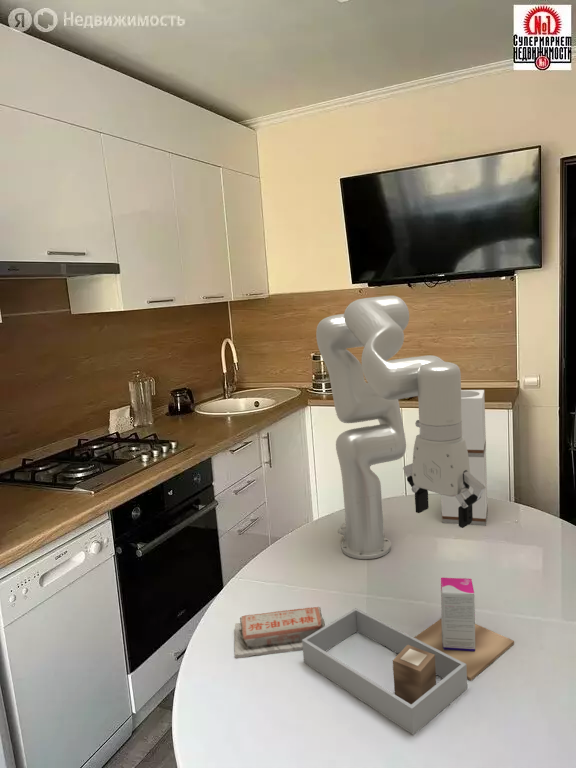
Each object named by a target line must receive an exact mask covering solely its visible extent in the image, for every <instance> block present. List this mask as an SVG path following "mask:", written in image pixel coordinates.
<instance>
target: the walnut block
mask: <svg viewBox="0 0 576 768" xmlns="http://www.w3.org/2000/svg"><path fill="white" fill-rule="evenodd" d="M392 670H393V671H392V673H393V674H392V675H393V686H394V694H395V695H396V696H398V697H400V698H401V699H403V700H405V701H406V702H408V703H409V704H413V703H414V702H415V701H416V700H418V699H419V698H420V697H421V696H423V695H424V694H425V693H426V692H427V691H429V690H430V689H431V688H432V687H434V686H435V685H436V684H437V674H436V668H435V655H434V654H432V653H429V652H426V651H424V650H421V649H418V648H415V647H413V646H410V645H407V646H406V647H405V648H404V649H403V650H402V651H401V652H400V653H399V654H398V653H397V654H396V656H395V658H394V659H392Z"/></svg>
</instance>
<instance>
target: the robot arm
mask: <svg viewBox="0 0 576 768" xmlns="http://www.w3.org/2000/svg"><path fill="white" fill-rule="evenodd" d="M409 322H410V311H409V307H408V305H407V304H406V301H404V300H403V299H402V298H401V297H399V296H396V295H382V296H374V297H373V296H372V297H364V298H358V299H356V300H354V301H352V302H350V303H349V304H348V306H347V307H346V308H345V310H344V313H341V314H340V313H338V314H334V315H333V314H332V315H330V316H327V317H324V318H323V319H322V320H320V321H319V323H318V324H317V326H316V330H315V332H316V333H315V335H316V337H315V338H316V344H317V348H318V350H319V353H320V355H321V358H322V359H323V362H324V364H325V367H326V369H327V372H328V375H329V381H330V388H331V394H332V398H333V399H332V400H333V404H334V410H335V413H336V417H337V419H338V420H339V421H340V422H341V423H344V424H356V423H363V422H368V421H376V420H377V421H378V422H379V424H376V425H370V426H369V425H367V426H362V427H357V428H351V429H347V430H344V431H343V432H342V433H340V434H339V435H338V436H337V438H336V440H335V450H336V455H337V459H338V463H339V467H340V472H341V473H340V474H341V482H342V493H343V503H344V504H343V505H344V506H343V507H344V517H345V519H344V520H345V522H343V523H342V524H341V525H340V528H338V530H337V533H338V534H339V535H341V536H342V535H343V538H344V539H343V541H342V542H341V545H340V546H341V551H342V553H343V554H345V555H346V556H348V557H350V558H354V559H358V560H372V559H376V558H380V557H383V556H385V555H387V554H388V553H389V552H390V551H391V549H392V543H391V541H390V539H388V538H387V537H385V529H384V528H385V527H384V515H383V514H384V512H383V498H382V483H381V479H380V478H379V476H378V475H377V474H376V473H375V472H374V471H373V470H372V469H371V466H373V465H374V466H375V465H378V464H384V463H390V462H392V461H393V462H394V461H397V460H400V459H401V458H403V457H404V456H405V454H406V451H407V442H406V434H405V430H404V423H403V418H402V413H401V407H400V402H399V401H400V400H401V399H407V398H413V397H417V398H418V419H417V420H415V427H417V428H419V429H418V431H419V434H417V435H416V436H415V440H414V444H413V445H414V446H413V453H412V463H410V464H407V465H404V466H403V468H402V469H403V472H404V474H405V477H406V481H407V482H408V484H409V485H410V487H411V492H412V493H414V505H415V506H414V507H415V513H417V514H420V513H422V512H424V511H427V510H428V509H429V491H430V492H432V493H435V494H439V495H441V494H442V495H446V496H450V497H454V496H455V497H456V498H457V500H458V501H459V503H460V504H461V506H460V507H459V508H458V519H459V524H458V527H459V528H461V529H464V528H465V527H468V526H470V525H469V524H471V522H472V519H473V513H472V504H474V503H475V502H476V501H477V500H479V499H480V498H481V495H482V494H483V492H484V490H485V486H484V485H483V484H482V483H481V482H479V481H478V480H477V479H476V478H475V477H473V476H472V475H471V474H470V465H469V457H468V451H467V446H466V442H465V439H464V438H462V413H461V390H462V377H461V376H462V374H461V369H460V367H459V365H458V364H456V363H453V362H449V361H444V360H443V359H442V358H441V357H439V356H436V355H433V354H432V355H421V356H411V357H410V356H409V357H404V358H396V359H391V358H393V357H394V356H395V355H396V354H397V353H399V351H400V350H401V349H402V347H403V344H404V341H405V333H404V331H405V330H406V328H407V327H408V325H409ZM362 347H363V350H362V353H361V361H359V359H358V358H357V357H356V356H355V355H354V354H353V353H352V352H351V351H349V350H348V349H352V348H362ZM390 359H391V360H390ZM470 486H471V487H472V488H473V493H472V494H471V492H470V491H469V488H470ZM462 493H463V494H464V496H465V497H466V499H465V498H464V496H463V495H462Z"/></svg>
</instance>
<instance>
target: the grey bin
mask: <svg viewBox="0 0 576 768" xmlns="http://www.w3.org/2000/svg"><path fill="white" fill-rule="evenodd" d="M357 632H358V633H360V634H362V635H363V636H365V637H368V638H369V639H370V640H373V641H375V642H377V643H378V644H380V645H382V646H383V647H385V646H386V648H387V649H389V650H391V651H393V652H394V653H397V655H398V654H399V653H400V652H401V651H402V650H403V649H404V648H405V647H406V646H407V645H410V646H413V647H415V648H418V649H421V650H424V651H426V652H429V653H432V654H434V655H435V668H436V676H439V677H440V678H442V679H441V680H439V682H436V685H435V686H434V687H432V688H431V689H430V690H429V691H427V692H426V693H425V694H424V695H423V696H421V697H420V698H419V699H418V700H416V701H415V702H414V703H413V704H409V703H408V702H406V701H405V700H403V699H401V698H400V697H398V696H396V695H395V693H394V692H392V691H390V690H389V689H386V688H385V687H384V686H382V685H380V684H379V683H377V682H375V681H374V680H372V679H371V678H369V677H367V676H366V675H364V674H362V673H361V672H359V671H358V670H355V668H353V667H351V666H349V665H347V664H346V663H345V662H343V661H341V660H339V659H338V658H336V657H335V656H333V655H332V654H330V653H329V652H327V651H329V650H330V649H332V648H333V647H334V646H336V645H338V644H339V643H341V642H342V641H344V640H345V639H348V638H349V637H351V636H352V635H354V634H355V633H357ZM414 637H415V636H412V635H410V634H408V633H406V632H404V631H402V630H400V629H399V628H396V627H394V626H392V625H390V624H388V623H386V622H385V621H383V620H380V619H378V618H377V617H374V616H372V615H370V614H368V613H367V612H365V611H362V610H360V609H359V608H356V607H355V608H353V609H352V610H350V611H348V612H346V613H345V614H343V615H341V616H339V618H337V619H335V620H333V621H331V622H330V623H328V624H325V627H323V628H321V629H320V630H318V631H316V632H315V633H313V634H311V635H310V636H308V637H306V638H305V639H303V640H302V646H303V650H302V655H303V663H305V664H306V665H308V666H309V667H311V668H312V669H314V670H315V671H316V672H318V673H320V674H321V675H323V676H324V677H325V678H327V679H329V680H330V681H331V682H333V683H334V684H336V685H338V686H339V687H341V688H342V689H344V690H345V691H347V692H348V693H350V694H351V695H353V696H354V697H356V698H357V699H359V700H360V701H362V702H363V703H365V704H366V705H368V706H369V707H371V708H372V709H373V710H375V711H376V712H378V713H380V714H381V715H382V716H384V717H386V718H387V719H389V720H390V721H392V722H394V723H395V724H397V725H398V726H399V727H401V728H403V729H404V731H407V732H408V733H410V734H412V735H415V734H416V733H417V732H418V731H420V730H421V729H422V728H423V727H425V726H426V725H427V724H428V723H429V722H430V721H431V720H432V719H434V718H435V717H436V716H437V715H438V714H439V713H441V712H442V711H443V710H444V709H445V708H447V707H448V706H449V705H450V704H451V703H452V702H453V701H454V700H456V699H457V698H458V697H459V696H460V695H462V693H464V692H465V691H466V690H468V679H467V668H466V664H465V663H463V662H461V661H459V660H457V659H455V658H453V657H451V656H449V655H447V654H445V653H443V652H442V651H440V650H438V649H436V648H434V647H432V646H430V645H428V644H426V643H424V642H422V641H420V640H418V639H416V638H414Z"/></svg>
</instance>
